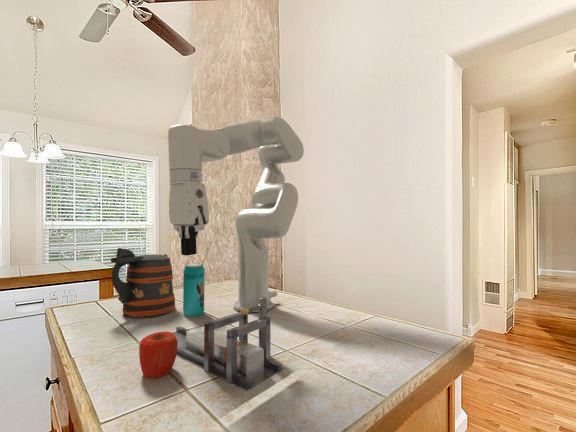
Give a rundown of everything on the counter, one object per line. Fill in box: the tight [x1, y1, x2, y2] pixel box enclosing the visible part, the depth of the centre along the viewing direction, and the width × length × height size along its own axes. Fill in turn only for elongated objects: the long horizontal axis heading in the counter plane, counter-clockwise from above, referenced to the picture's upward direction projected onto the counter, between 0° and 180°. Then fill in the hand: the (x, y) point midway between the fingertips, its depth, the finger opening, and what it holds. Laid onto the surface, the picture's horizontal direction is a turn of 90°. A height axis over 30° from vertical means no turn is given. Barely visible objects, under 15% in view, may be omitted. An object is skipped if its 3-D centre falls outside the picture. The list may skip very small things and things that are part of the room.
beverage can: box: [182, 262, 205, 318], centre depth 87 cm, size 6×6×15 cm
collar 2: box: [225, 316, 271, 385], centre depth 53 cm, size 9×1×9 cm, turn 142°
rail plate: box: [171, 325, 285, 391], centre depth 60 cm, size 9×32×2 cm, turn 52°
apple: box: [138, 331, 177, 380], centre depth 53 cm, size 6×6×8 cm
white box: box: [186, 326, 264, 379], centre depth 57 cm, size 18×4×4 cm, turn 50°
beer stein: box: [110, 247, 176, 318], centre depth 91 cm, size 19×15×20 cm
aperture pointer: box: [240, 297, 268, 348], centre depth 58 cm, size 6×2×12 cm, turn 142°
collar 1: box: [203, 311, 249, 373], centre depth 57 cm, size 9×1×9 cm, turn 142°
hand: (189, 254), depth 74 cm, fingers closed
